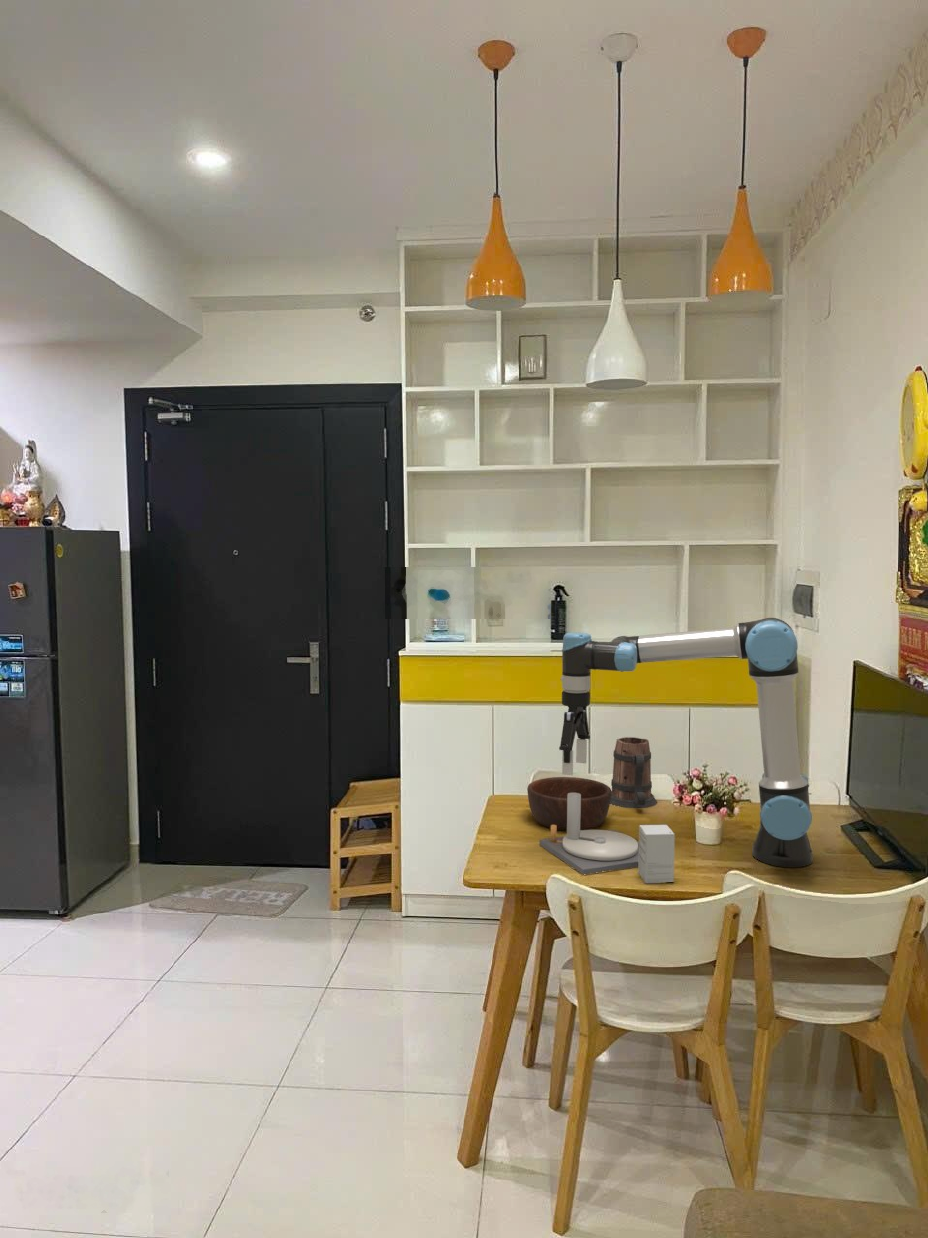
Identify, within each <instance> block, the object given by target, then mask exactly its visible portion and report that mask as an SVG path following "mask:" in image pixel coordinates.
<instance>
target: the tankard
mask: <svg viewBox="0 0 928 1238" xmlns="http://www.w3.org/2000/svg"><path fill="white" fill-rule="evenodd" d="M651 759H652V752H651V748H650V741H649V740H648V739H647V738H639V737H635V736H634V737H632V736H630V737H628V736H627V737H625V736H624V737H621V738H617V739H616V742H615V746H614V750H613V766H612V767H613V769H612V778H611V783H610V784H611V785H610V786H611V800H610V805H611V804H612V806H614V805H615V807H618V806H619V808H625V809H647V808H652V807H655V806H656V805H658V800H657V799H656V798H655V795H654V794H653V793H652V788H653V787H652V785H653V782H652V778H651V777H652V776H651V775H652V774H651V765H652V764H651V761H652V760H651Z"/></svg>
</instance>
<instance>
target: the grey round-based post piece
mask: <svg viewBox="0 0 928 1238" xmlns="http://www.w3.org/2000/svg"><path fill="white" fill-rule="evenodd" d="M580 816H581V794H579V793H568V797H567V830H566V834H565V835H564V838H563V848H564V850H565V851H567V852H568V853H570V854H572V855H575V856H577V857H581V858H585V859H591V860H601V861H612V860H622V859H626V858H630V857H632V856H634V855H635V854H636V853H637V852H638V843H639V841H638V840H636V838H634V837H632V836H630V835H628V834H625V833H621V832H620V833H618V832H619V831H618V832H614V831H608V830H606V829H605V830H604V829H588V830H580Z"/></svg>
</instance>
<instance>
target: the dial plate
mask: <svg viewBox="0 0 928 1238" xmlns="http://www.w3.org/2000/svg"><path fill="white" fill-rule="evenodd" d="M557 830H558V829H557V825H551V828H550V837H548V838H543V839H539V846H541V847H542V848H543V849H545V850H546V851H547V852H549V853H550V854H551V855H553V856H555V857H556V858H557V857H558V859H559V860H560V859H561V860H560V861H562V862H563V861H564V862H563V863H565V864H566V863H567V864H569V865H570V866H571V867H570V866H569V865H568V866H569V867H570V868H572V867H573V868H574V870H575V869H576V870H577V871H576V870H575V871H576V872H578V871H579V872H580V873H581V874H580V873H579V872H578V873H579V874H580V875H582V874H583V875H584V874H590V873H596V872H602V871H609V870H616V871H621V870H620V869H622V870H627V868H629V869H633V868H634V867H635V868H638V861H639V842H638V852H637V853H636V854H635V855H634V856H632V857H630V858H626V859H622V860H612V861H601V860H591V859H585V858H581V857H577V856H575V855H572V854H570V853H568V852H567V851H565V850H564V848H563V838H564V836H565V835H564V836H557V835H558V833H557ZM607 831H614V832H618V833H621V832H619V831H618V830H616V829H609V830H607ZM567 864H566V865H567ZM573 868H572V869H573ZM635 868H634V869H635ZM618 869H619V870H618ZM609 872H610V871H609ZM596 874H597V873H596ZM583 875H582V876H583ZM590 875H591V874H590ZM584 876H585V875H584Z"/></svg>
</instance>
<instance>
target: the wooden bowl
mask: <svg viewBox="0 0 928 1238" xmlns="http://www.w3.org/2000/svg"><path fill="white" fill-rule="evenodd" d="M611 791H612V788H611V787H610V786H608V785H607V784H606V783H603V782H601V781H598V780H594V779H589V778H582V777H576V776H575V777H574V776H573V777H572V776H557V777H556V776H555V777H554V776H553V777H546V778H539V779H536V780H534V781H532V782H531V783H529V784H528V786H527V797H528V805H529V809H530V812H531V814H532V816H533V818H534V820H535V822H537V823H538V824H539V825H541V826H543V827H545V828H549V829H551V825H557V830H558V831H567V797H568V793H579V794H581V816H580V831H581V830H593V829H595V828H597V827H599V826H601V824H603V823H604V821H605V819H606V817H607V815H608V812H609V809H610V805H611V804H610V800H611Z"/></svg>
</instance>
